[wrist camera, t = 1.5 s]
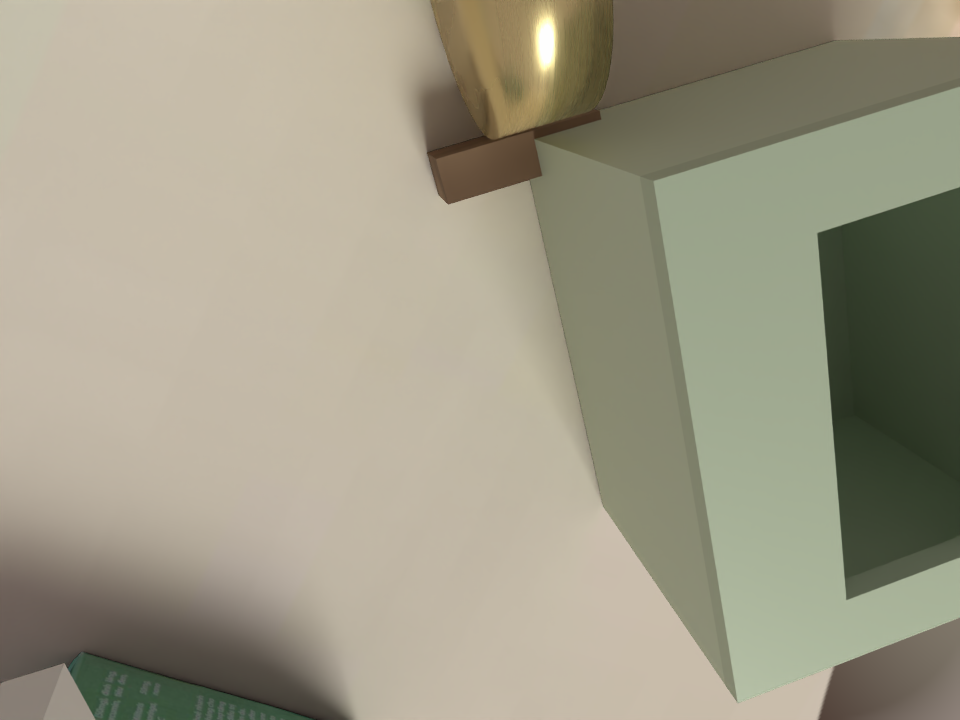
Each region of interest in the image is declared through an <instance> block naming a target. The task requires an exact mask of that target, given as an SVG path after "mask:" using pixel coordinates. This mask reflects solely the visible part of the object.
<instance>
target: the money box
mask: <svg viewBox="0 0 960 720" xmlns="http://www.w3.org/2000/svg"><path fill="white" fill-rule="evenodd" d="M599 111H600V115H601V120H598V121H594V122H591V123H587V124H584V125H581V126H577V127H574V128H571V129H567V130H564V131H561V132H557V133H554V134H550V135H547V136H544V137H540V138H537V139H534V140H535V145H536V149H537V154H538V158H539V163H540V168H541V172H542V176H540V177H537V178H534V179H530V183H531V188H532V192H533V197H534V201H535V206H536V210H537V214H538V219H539V223H540V228H541V232H542V237H543V241H544V246H545V250H546V254H547V259H548V263H549V268H550V272H551V277H552V281H553V285H554V290H555V294H556V299H557V303H558V308H559V312H560V317H561V321H562V325H563V330H564V334H565V339H566V343H567V348H568V352H569V356H570V361H571V365H572V370H573V374H574V379H575V383H576V388H577V392H578V396H579V401H580V405H581V410H582V414H583V419H584V423H585V427H586V432H587V436H588V441H589V445H590V450H591V454H592V459H593V463H594V467H595V472H596V476H597V481H598V485H599V490H600V494H601V498H602V503H603V507H604V508H605V510H606V511H607V513H608V514H609V516H610V517H611V519H612V520H613V521H614V523H615V524H616V526H617V527H618V529H619V530H620V532H621V533H622V535H623V536H624V538H625V539H626V540H627V542H628V543H629V545H630V546H631V548H632V549H633V551H634V552H635V554H636V555H637V557H638V558H639V559H640V561H641V562H642V564H643V565H644V567H645V568H646V570H647V571H648V573H649V574H650V576H651V577H652V579H653V580H654V581H655V583H656V584H657V586H658V587H659V589H660V590H661V592H662V593H663V595H664V596H665V598H666V599H667V600H668V602H669V603H670V605H671V606H672V608H673V609H674V611H675V612H676V614H677V615H678V617H679V618H680V619H681V621H682V622H683V624H684V625H685V627H686V628H687V630H688V631H689V633H690V634H691V636H692V637H693V638H694V640H695V641H696V643H697V644H698V646H699V647H700V649H701V650H702V652H703V653H704V655H705V656H706V657H707V659H708V660H709V662H710V663H711V665H712V666H713V668H714V669H715V671H716V672H717V674H718V675H719V676H720V678H721V679H722V681H723V682H724V684H725V685H726V687H727V688H728V690H729V691H730V693H731V694H732V695H733V697H734V698H735V700H736V701H737V703H740V702H743V701H745V700H748V699H750V698H753V697H756V696H758V695H761V694H763V693H766V692H768V691H771V690H774V689H776V688H779V687H781V686H784V685H787V684H789V683H792V682H794V681H797V680H799V679H802V678H805V677H807V676H810V675H812V674H815V673H818V672H820V671H823V670H825V669H828V668H831V667H833V666H836V665H838V664H841V663H843V662H846V661H849V660H851V659H854V658H856V657H859V656H862V655H864V654H867V653H869V652H872V651H874V650H877V649H879V648H882V647H885V646H887V645H890V644H893V643H895V642H897V641H900V640H903V639H905V638H908V637H911V636H913V635H916V634H919V633H921V632H924V631H926V630H929V629H931V628H934V627H937V626H939V625H942V624H944V623H947V622H950V621H952V620H955V619H957V618H960V37H944V38H907V39H871V40H835V41H832V42H829V43H825V44H822V45H819V46H815V47H812V48H808V49H805V50H802V51H798V52H795V53H791V54H788V55H785V56H781V57H778V58H775V59H771V60H768V61H764V62H761V63H758V64H754V65H751V66H748V67H744V68H741V69H737V70H734V71H731V72H727V73H724V74H721V75H717V76H714V77H710V78H707V79H704V80H700V81H697V82H694V83H690V84H687V85H683V86H680V87H677V88H673V89H670V90H667V91H663V92H660V93H656V94H653V95H650V96H646V97H643V98H640V99H636V100H633V101H629V102H626V103H623V104H619V105H616V106H613V107H609V108H606V109H602V110H599Z"/></svg>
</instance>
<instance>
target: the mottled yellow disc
mask: <svg viewBox="0 0 960 720" xmlns="http://www.w3.org/2000/svg"><path fill="white" fill-rule="evenodd" d="M431 4H432V8H433V12H434V15H435V19H436V23H437V26H438V29H439V33H440V36H441V39H442V43H443V46H444V49H445V52H446V55H447V58H448V61H449V64H450V66H451V69H452V72H453V75H454V77H455V80H456V83H457V85H458V88H459V90H460V92H461V95H462V97H463V99H464V102H465V104H466V106H467V108H468V110H469V112H470V114H471V116H472V117H473V119H474V121H475V123H476V124H477V126H478V127H479V129H480V130H481V131H482V132H483V134H484V135H485V136H487V137H488V138H489V139H492V140H495V139H498V138H501V137H505V136H508V135H511V134H515V133H518V132H522V131H525V130H528V129H532V128H535V127H539V126H542V125H545V124H549V123H552V122H555V121H559V120H562V119H566V118H569V117H572V116H576V115H579V114H582V113H586V112H589V111H591V110H592V109H594V108H595V107H596V106H597V104H598V103H599V101H600V100H601V97H602V95H603V93H604V90H605V87H606V83H607V80H608V76H609V70H610V64H611V55H612V43H613V2H612V0H431Z"/></svg>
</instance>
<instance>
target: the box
mask: <svg viewBox="0 0 960 720" xmlns="http://www.w3.org/2000/svg"><path fill="white" fill-rule="evenodd" d="M68 671H69V672H70V674H71V676H72V678H73V680H74V682H75V683H76V685H77V687H78V689H79V691H80V692H81V694H82V696H83V698H84V700H85V702H86V703H87V705H88V707H89V709H90V711H91V712H92V714H93V716H94V718H95V720H314V719H311V718H308V717H305V716H301V715H298V714H295V713H292V712H289V711H285V710H282V709H279V708H276V707H272V706H269V705H265V704H262V703H258V702H255V701H251V700H247V699H244V698H240V697H237V696H233V695H230V694H226V693H222V692H219V691H215V690H212V689H208V688H205V687H201V686H198V685H194V684H191V683H187V682H184V681H180V680H177V679H173V678H170V677H166V676H163V675H159V674H156V673H152V672H149V671H145V670H142V669H138V668H135V667H131V666H128V665H125V664H121V663H118V662H114V661H111V660H108V659H104V658H101V657H97V656H94V655H91V654H88V653H85V652H81V653H80V654H79V655H78V656H77V657H76V658H75V659H74V660H73V661H72V663H71V664H70V666H69V667H68Z"/></svg>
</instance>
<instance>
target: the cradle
mask: <svg viewBox="0 0 960 720" xmlns="http://www.w3.org/2000/svg"><path fill="white" fill-rule="evenodd" d="M598 120H601V115H600V111H599V110H593V109H592V110H591V111H589V112H586V113H582V114H579V115H576V116H572V117H569V118H566V119H562V120H559V121H555V122H552V123H549V124H545V125H542V126H539V127H535V128H532V129H528V130H525V131H522V132H518V133H515V134H511V135H508V136H505V137H501V138H498V139H495V140H492V139H489V138H488V137H487V136H482V137H478V138H475V139H472V140H468V141H465V142H461V143H458V144H455V145H451V146H448V147H444V148H441V149H438V150H434V151H431V152H428V153H427V154H428V158H429V162H430V165H431V169H432V172H433V176H434V180H435V183H436V187H437V191H438V194H439V196H440V197H441V198H442V199H443V200H444V201H445V202H446V203H447V204H451V203H455V202H458V201H461V200H464V199H468V198H471V197H474V196H478V195H481V194H484V193H488V192H491V191H494V190H497V189H501V188H504V187H507V186H511V185H514V184H517V183H521V182H524V181H527V180H530V179H534V178H537V177H540V176H542V172H541V168H540V163H539V158H538V154H537V149H536V145H535V140H534V139H537V138H540V137H544V136H547V135H550V134H554V133H557V132H561V131H564V130H567V129H571V128H574V127H577V126H581V125H584V124H587V123H591V122H594V121H598Z"/></svg>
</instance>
